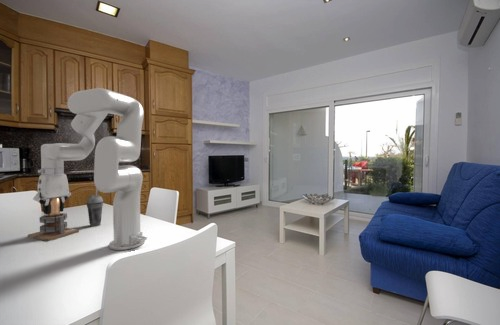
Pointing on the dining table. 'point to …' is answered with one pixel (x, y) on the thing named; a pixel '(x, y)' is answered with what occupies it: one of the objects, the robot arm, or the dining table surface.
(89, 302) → the dining table surface
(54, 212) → the copper tube
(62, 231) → the collar stand
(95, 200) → the beverage cup
